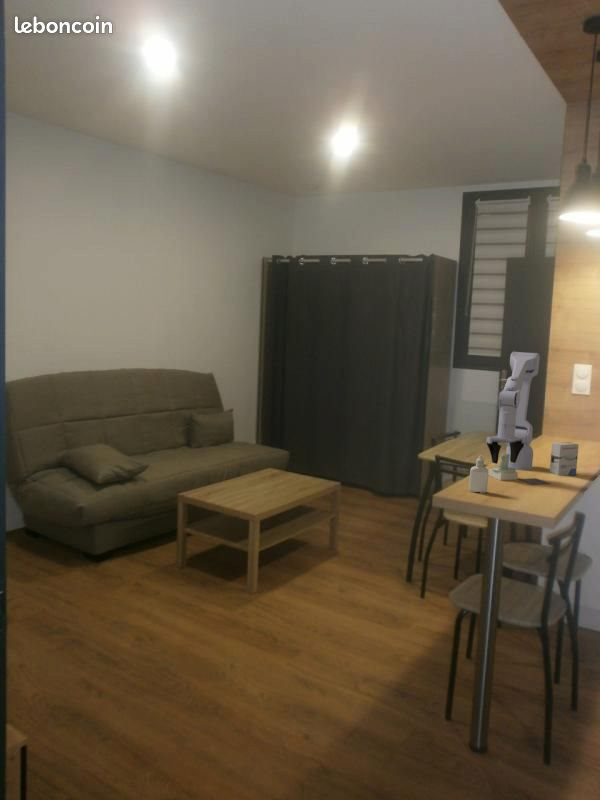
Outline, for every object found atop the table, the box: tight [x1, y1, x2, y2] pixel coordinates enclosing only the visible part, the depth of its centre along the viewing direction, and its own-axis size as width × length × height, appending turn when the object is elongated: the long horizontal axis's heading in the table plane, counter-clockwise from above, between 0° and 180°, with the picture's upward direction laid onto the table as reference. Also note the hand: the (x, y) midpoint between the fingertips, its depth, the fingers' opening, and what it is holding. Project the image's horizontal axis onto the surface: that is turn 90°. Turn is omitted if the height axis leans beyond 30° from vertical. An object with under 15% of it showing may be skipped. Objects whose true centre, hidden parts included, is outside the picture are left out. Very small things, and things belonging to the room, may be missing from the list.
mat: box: [517, 477, 552, 486], centre depth 230 cm, size 8×8×1 cm
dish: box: [488, 467, 519, 481], centre depth 234 cm, size 7×7×3 cm
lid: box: [491, 453, 517, 473], centre depth 233 cm, size 8×8×6 cm
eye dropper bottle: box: [468, 454, 489, 494], centre depth 214 cm, size 4×6×12 cm
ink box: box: [549, 441, 580, 476], centre depth 244 cm, size 8×5×12 cm, turn 111°
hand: (503, 462), depth 233 cm, fingers open, 7 cm apart
